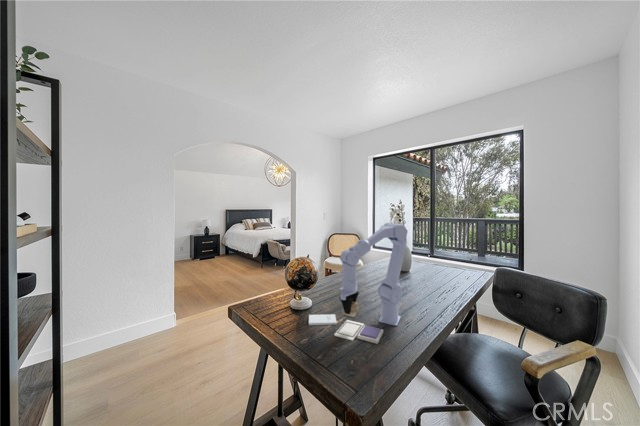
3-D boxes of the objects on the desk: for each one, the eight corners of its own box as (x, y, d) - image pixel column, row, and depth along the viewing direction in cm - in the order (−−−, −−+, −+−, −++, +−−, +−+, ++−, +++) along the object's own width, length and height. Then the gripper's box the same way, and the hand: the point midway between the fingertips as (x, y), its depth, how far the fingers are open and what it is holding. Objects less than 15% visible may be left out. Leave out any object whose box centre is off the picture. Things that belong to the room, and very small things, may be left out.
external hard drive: (308, 317, 112) (335, 317, 112) (308, 326, 104) (336, 325, 104) (308, 314, 112) (335, 313, 112) (308, 323, 103) (336, 322, 104)
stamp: (347, 311, 102) (348, 300, 102) (357, 314, 100) (357, 302, 99) (343, 315, 98) (344, 304, 98) (353, 318, 96) (354, 306, 96)
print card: (347, 320, 107) (347, 319, 107) (364, 324, 104) (364, 323, 104) (333, 335, 95) (333, 334, 95) (352, 340, 91) (352, 339, 91)
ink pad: (364, 327, 101) (364, 323, 101) (383, 332, 97) (383, 328, 97) (357, 338, 93) (357, 333, 93) (377, 343, 89) (377, 339, 89)
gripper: (347, 273, 107) (347, 302, 107) (333, 282, 94) (333, 316, 95) (362, 275, 104) (362, 305, 104) (349, 285, 91) (350, 320, 91)
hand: (349, 311), depth 99 cm, fingers closed on stamp, 4 cm apart
